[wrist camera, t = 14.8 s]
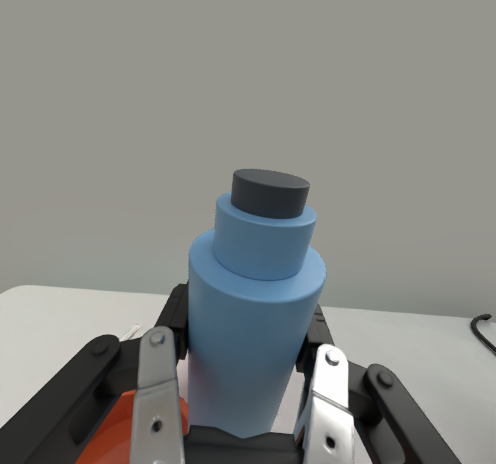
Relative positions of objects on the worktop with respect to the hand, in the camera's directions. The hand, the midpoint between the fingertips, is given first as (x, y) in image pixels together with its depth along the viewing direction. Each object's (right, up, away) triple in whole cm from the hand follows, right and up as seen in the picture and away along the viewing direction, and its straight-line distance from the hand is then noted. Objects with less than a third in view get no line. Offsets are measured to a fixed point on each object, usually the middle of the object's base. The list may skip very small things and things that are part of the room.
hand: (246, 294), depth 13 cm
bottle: (-1, -10, +2) cm, 11 cm away
